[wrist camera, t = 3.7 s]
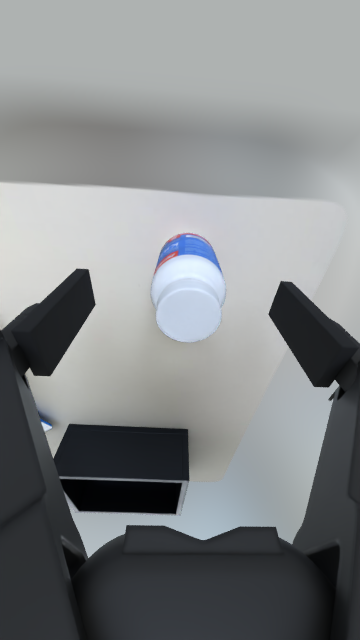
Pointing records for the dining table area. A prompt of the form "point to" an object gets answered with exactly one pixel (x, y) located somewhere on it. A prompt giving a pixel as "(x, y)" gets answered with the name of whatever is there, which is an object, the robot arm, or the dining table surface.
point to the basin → (124, 469)
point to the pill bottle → (188, 289)
